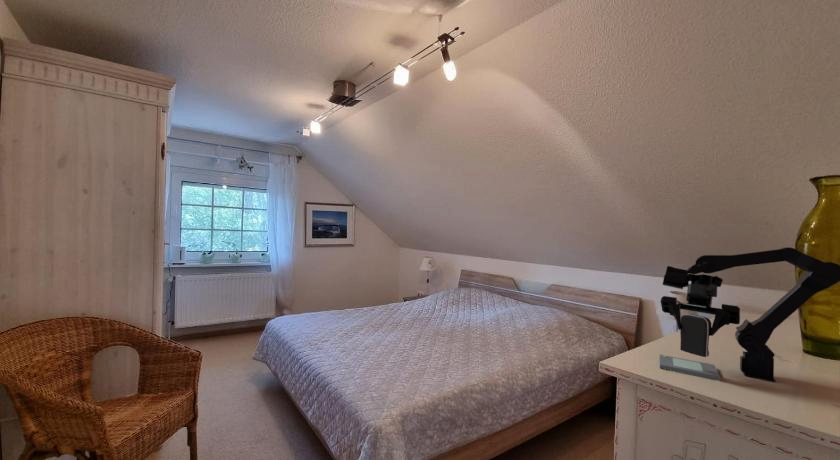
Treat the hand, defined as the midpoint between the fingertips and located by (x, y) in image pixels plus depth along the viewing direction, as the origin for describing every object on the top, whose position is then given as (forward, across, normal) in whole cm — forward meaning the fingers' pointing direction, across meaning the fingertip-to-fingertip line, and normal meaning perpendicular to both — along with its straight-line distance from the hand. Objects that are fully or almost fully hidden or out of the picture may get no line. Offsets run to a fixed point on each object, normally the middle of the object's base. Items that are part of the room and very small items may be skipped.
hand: (694, 331), depth 101 cm
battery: (+4, 0, +6) cm, 7 cm away
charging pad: (+6, -2, +12) cm, 14 cm away
